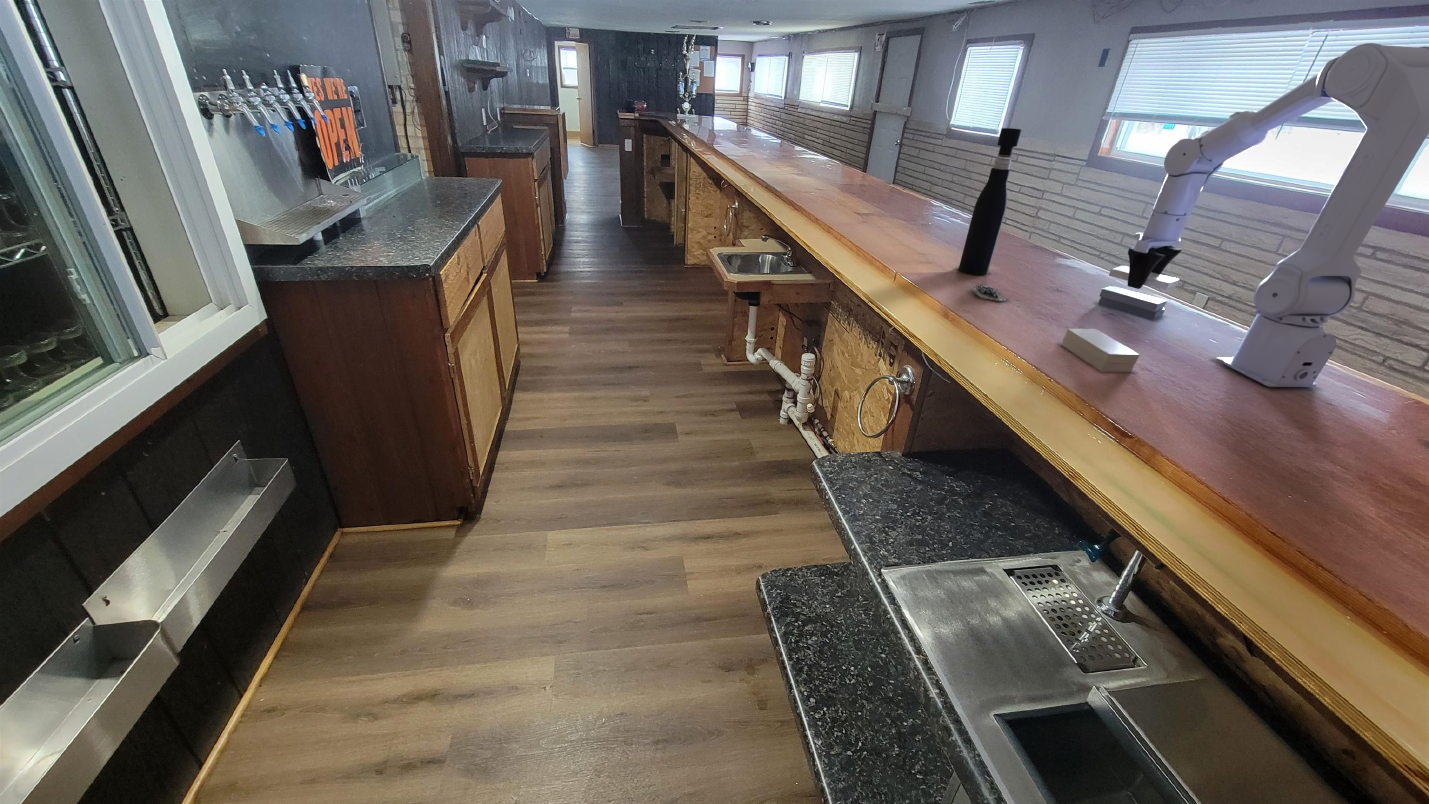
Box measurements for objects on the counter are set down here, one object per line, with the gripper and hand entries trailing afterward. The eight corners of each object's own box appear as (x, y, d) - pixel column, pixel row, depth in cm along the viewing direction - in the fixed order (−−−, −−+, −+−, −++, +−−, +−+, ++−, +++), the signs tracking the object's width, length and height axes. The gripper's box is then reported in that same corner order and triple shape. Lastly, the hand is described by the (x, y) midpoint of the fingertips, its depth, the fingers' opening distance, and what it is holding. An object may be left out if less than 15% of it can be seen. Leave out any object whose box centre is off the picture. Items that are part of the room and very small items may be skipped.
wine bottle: (952, 268, 133) (988, 127, 118) (972, 266, 135) (1009, 127, 120) (973, 276, 128) (1013, 130, 113) (993, 273, 130) (1035, 130, 115)
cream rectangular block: (1132, 372, 86) (1140, 354, 85) (1101, 372, 86) (1108, 354, 84) (1088, 344, 95) (1095, 328, 94) (1060, 344, 95) (1066, 328, 93)
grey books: (1162, 316, 109) (1169, 300, 108) (1152, 320, 107) (1159, 304, 105) (1105, 300, 116) (1112, 285, 115) (1096, 303, 114) (1102, 288, 113)
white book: (1176, 286, 106) (1180, 279, 106) (1165, 290, 104) (1169, 282, 103) (1119, 272, 113) (1122, 265, 113) (1108, 275, 111) (1111, 268, 110)
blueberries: (987, 288, 120) (990, 279, 120) (1016, 300, 114) (1019, 291, 113) (962, 290, 118) (964, 281, 117) (990, 303, 112) (993, 293, 111)
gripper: (1162, 205, 109) (1134, 274, 115) (1129, 211, 101) (1100, 284, 108) (1205, 212, 104) (1173, 284, 110) (1174, 219, 96) (1141, 295, 103)
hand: (1140, 285), depth 109 cm, fingers closed on white book, 5 cm apart
